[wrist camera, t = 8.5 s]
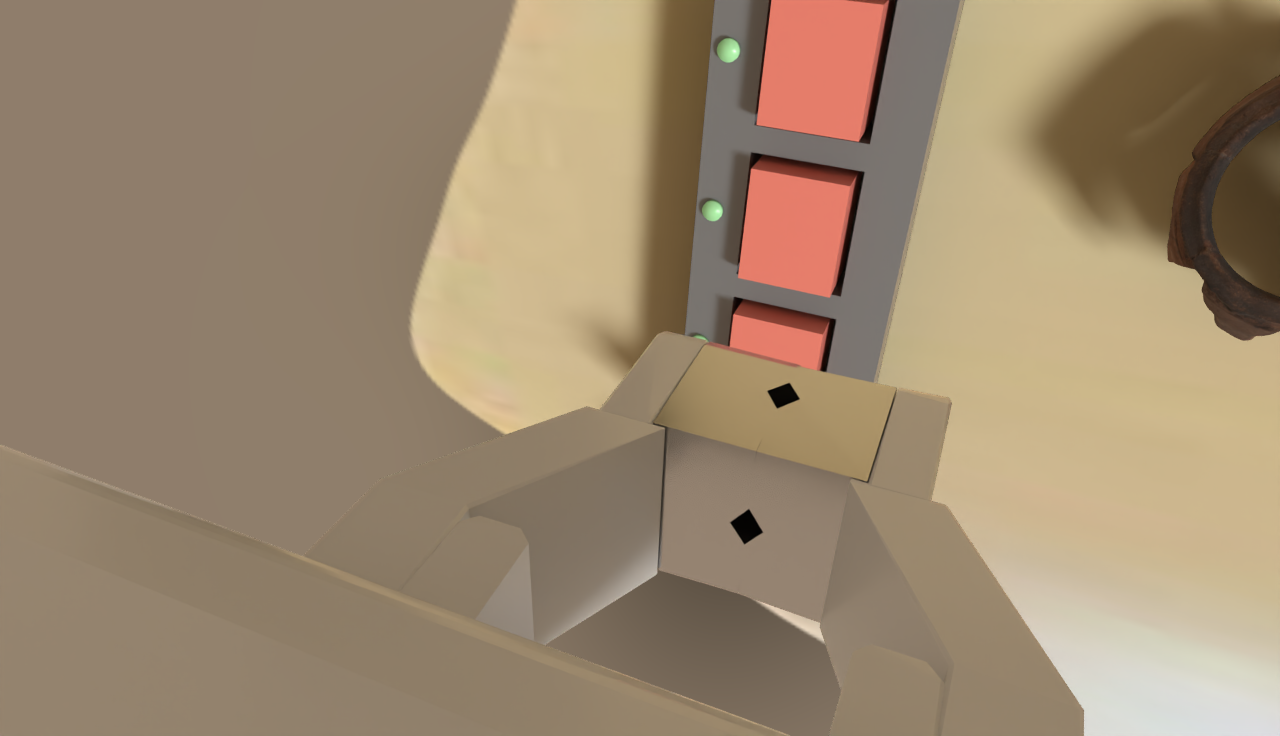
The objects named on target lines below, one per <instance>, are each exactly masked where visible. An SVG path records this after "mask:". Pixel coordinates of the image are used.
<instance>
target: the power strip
mask: <svg viewBox="0 0 1280 736" xmlns="http://www.w3.org/2000/svg"><path fill="white" fill-rule="evenodd" d="M771 1H772V0H715V3H714V14H713V25H712V37H711V48H710V59H709V70H708V81H707V93H706V104H705V115H704V126H703V137H702V149H701V160H700V171H699V182H698V193H697V205H696V216H695V227H694V238H693V249H692V260H691V272H690V283H689V294H688V305H687V316H686V328H685V335H686V336H690V337H695V338H699V339H703V340H706V341H707V342H714V343H718V344H722V345H725V346H729V347H730V339H731V331H732V323H733V315H734V313H735V311H736V310H737V308H738V307H739V305H740V304H741V302H742V301H743V299H747V300H752V301H756V302H761V303H765V304H770V305H774V306H779V307H783V308H788V309H792V310H797V311H801V312H806V313H810V314H815V315H819V316H824V317H828V318H833V319H835V320H834V326H833V331H832V336H831V341H830V347H829V352H828V357H827V362H826V368H825V372H827V373H832V374H836V375H841V376H846V377H850V378H855V379H859V380H864V381H868V382H873V383H877V381H878V376H879V372H880V368H881V363H882V359H883V354H884V350H885V346H886V341H887V337H888V333H889V328H890V324H891V319H892V315H893V311H894V306H895V302H896V298H897V293H898V289H899V285H900V280H901V276H902V271H903V267H904V263H905V258H906V254H907V250H908V245H909V241H910V236H911V232H912V228H913V223H914V219H915V215H916V210H917V206H918V201H919V197H920V193H921V188H922V184H923V180H924V175H925V171H926V166H927V162H928V158H929V153H930V149H931V145H932V140H933V136H934V131H935V127H936V123H937V118H938V114H939V110H940V105H941V101H942V96H943V92H944V88H945V83H946V79H947V75H948V70H949V66H950V61H951V57H952V53H953V48H954V44H955V40H956V35H957V31H958V26H959V22H960V18H961V13H962V9H963V5H964V0H895V5H894V10H893V15H892V20H891V26H890V31H889V36H888V41H887V47H886V52H885V57H884V63H883V68H882V73H881V78H880V84H879V89H878V94H877V99H876V105H875V110H874V115H873V119H872V121H871V123H870V124H869V126H868V127H867V129H866V131H865V132H864V134H863V135H862V137H861V139H860V140H859V142H857V141H851V140H845V139H839V138H832V137H826V136H820V135H814V134H808V133H802V132H796V131H790V130H784V129H778V128H772V127H766V126H760V125H756V124H757V116H758V108H759V100H760V91H761V83H762V75H763V67H764V58H765V50H766V42H767V34H768V25H769V17H770V9H771ZM764 154H765V155H771V156H776V157H782V158H788V159H794V160H799V161H805V162H811V163H817V164H822V165H828V166H834V167H840V168H845V169H851V170H857V171H863V173H862V178H861V184H860V189H859V194H858V200H857V205H856V210H855V215H854V221H853V226H852V231H851V236H850V242H849V247H848V252H847V257H846V263H845V267H844V269H843V271H842V273H841V275H840V278H839V280H838V282H837V284H836V286H835V288H834V290H833V292H832V294H831V296H830V298H829V297H824V296H819V295H815V294H810V293H806V292H801V291H796V290H792V289H787V288H783V287H778V286H773V285H769V284H764V283H759V282H755V281H750V280H746V279H741V278H738V274H739V266H740V257H741V249H742V241H743V233H744V224H745V216H746V208H747V200H748V191H749V183H750V175H751V168H752V167H753V166H754V165H755V164H756V163H757V162H758V160H759V159H760V158H761V157H762V156H763V155H764Z"/></svg>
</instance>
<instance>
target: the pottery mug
mask: <svg viewBox="0 0 1280 736" xmlns="http://www.w3.org/2000/svg"><path fill="white" fill-rule="evenodd" d="M1279 120H1280V75H1279V76H1277V77H1275V78H1274V79H1272V80H1271V81H1269V82H1267V83H1266V84H1264V85H1263V86H1261V87H1260V88H1259V89H1257V90H1255V91H1254V92H1253V93H1251V94H1249V95H1248V96H1247V97H1245V98H1244V99H1243V100H1241V101H1240V102H1239V103H1237V104H1236V105H1235V106H1234V107H1232V108H1231V109H1230V110H1229V111H1228V112H1226V113H1225V114H1224V115H1223V116H1222V117H1221V118H1220V119H1219V120H1218V121H1217V122H1216V123H1215V124H1214V125H1213V126H1212V127H1211V129H1210V130H1209V131H1208V132H1207V133H1206V134H1205V136H1204V137H1203V138H1202V139H1201V140H1200V141H1199V143H1198V144H1197V145H1196V147H1195V148H1194V150H1193V152H1192V156H1193V158H1194V161H1193V162H1192V163H1191V165H1190V166H1189V167H1187V168H1186V169H1185V170H1184V171H1183V172H1182V174H1181V175H1180V177H1179V180H1178V184H1177V187H1176V190H1175V195H1174V202H1173V207H1172V219H1171V226H1170V232H1169V240H1168V244H1167V248H1168V261H1169V262H1174V263H1175V264H1178V265H1180V266H1183V267H1188V268H1191V269H1195V270H1196V271H1197V272H1198V273H1199V274H1200V276H1201V277H1202V279H1203V280H1204V284H1203V287H1202V293H1203V298H1204V302H1205V304H1206V306H1207V307H1208V308H1209V310H1211V311H1212V312H1213V314H1214V319H1215V323H1216V325H1217V326H1218V327H1219V328H1220V329H1222V330H1224V331H1226V332H1227V333H1229V334H1230V335H1232V336H1234V337H1236V338H1238V339H1240V340H1251V339H1253V338H1254V337H1255V336H1265V335H1271V334H1274V333H1276V332H1279V331H1280V297H1279V296H1276V295H1273V294H1270V293H1268V292H1265V291H1263V290H1261V289H1259V288H1257V287H1256V286H1254V285H1252V284H1251V283H1249V282H1248V281H1246V280H1245V279H1244V278H1242V277H1241V276H1240V275H1239V274H1238V273H1236V272H1235V271H1234V270H1233V269H1232V268H1231V266H1230V265H1229V264H1228V263H1227V262H1226V260H1225V259H1224V258H1223V256H1222V255H1221V254H1220V252H1219V249H1218V247H1217V244H1216V241H1215V238H1214V234H1213V228H1212V206H1213V200H1214V197H1215V192H1216V189H1217V186H1218V184H1219V181H1220V179H1221V177H1222V175H1223V173H1224V172H1225V170H1226V168H1227V167H1228V165H1229V164H1230V162H1231V161H1232V160H1233V158H1234V157H1235V156H1236V155H1237V154H1238V153H1239V152H1240V151H1241V150H1242V148H1243V147H1244V146H1245V145H1246V144H1247V143H1248V142H1250V141H1251V140H1252V139H1253V138H1254V137H1255V136H1256V135H1257V134H1259V133H1260V132H1261V131H1263V130H1264V129H1266V128H1267V127H1269V126H1270V125H1272V124H1273V123H1275V122H1277V121H1279Z"/></svg>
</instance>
